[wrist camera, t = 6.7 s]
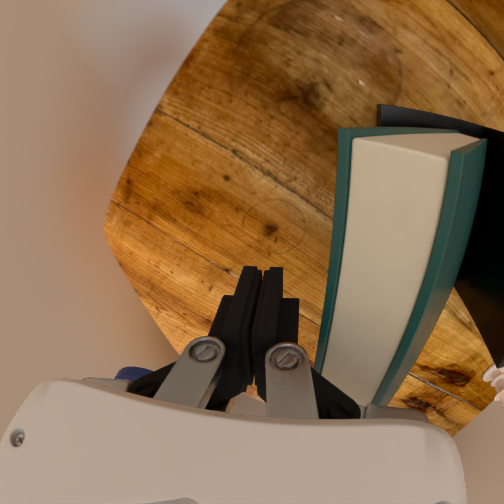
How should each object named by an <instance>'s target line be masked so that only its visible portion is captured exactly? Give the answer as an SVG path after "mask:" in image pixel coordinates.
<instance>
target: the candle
mask: <svg viewBox="0 0 504 504" xmlns="http://www.w3.org/2000/svg"><path fill="white" fill-rule="evenodd" d="M503 372H504V367H503V368H498V369H497V368H496V366H495V363H494V364H493V365H491V366H490V367H489V368H488V369H487V370H486V371H485V372H484V374H483V380H484V381H485V382H488V381H491V380H492V381H491V386H495V389H496V391H497V395H496V397H495V398H494V400H495V401H498V400H501V401H502V404H503V406H504V373H503Z"/></svg>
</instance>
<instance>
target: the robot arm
mask: <svg viewBox="0 0 504 504" xmlns="http://www.w3.org/2000/svg"><path fill="white" fill-rule="evenodd" d="M298 324H299V298H283V267H270V268H269V270H265V271H264V275H263V280H262V270H257V266H244V267H243V269H242V272H241V275H240V278H239V281H238V284H237V287H236V290H235V293H234V296H233V295H224V296H223V297H222V300H221V302H220V305H219V308H218V310H217V313H216V316H215V318H214V321H213V324H212V326H211V329H210V332H209V334H208V336H203V337H199V338H196V339H194V340H192V341H191V342H190V343H189V344H188V345H187V346H186V348H185V349H184V351H183V352H182V354H181V356H180V357H179V359H178V360H177V361H176V362H174V363H171V364H170V365H167V366H165V367H163V368H161V369H159V370H156V371H154V372H152V373H150V374H147V375H145V376H143V377H141V378H139V379H137V380H135V381H134V382H130V380H125V379H105V378H92V377H90V378H85V379H83V380H78V379H69V378H60V379H51V380H46V381H44V382H42V383H41V384H39V385H38V386H37V387H36V388H35V389H34V390H33V391H32V392H31V393H30V394H29V396H28V397H27V398H26V400H25V401H24V402H23V404H22V405H21V407H20V408H19V410H18V411H17V413H16V415H15V416H14V418H13V420H12V421H11V423H10V425H9V426H8V428H7V430H6V432H5V434H4V436H3V438H2V440H1V441H0V504H467V494H466V486H465V478H464V472H463V468H462V463H461V459H460V456H459V452H458V450H457V447H456V445H455V443H454V441H453V439H452V437H451V436H450V435H449V434H448V433H447V432H446V431H445V430H443V429H441V428H439V427H437V426H435V425H432V424H429V420H428V418H427V416H426V415H425V414H424V413H423V412H421V411H419V410H415V409H405V408H396V407H388V406H380V405H373V404H367V406H362V405H358V404H357V403H356V402H355V401H354V400H353V399H352V398H350V397H349V396H348V395H346V394H345V393H344V392H343V391H341V390H340V389H339V388H337V387H336V386H335V385H333V384H332V383H331V382H330V381H328V380H327V379H326V378H324V377H323V376H322V375H321V374H319V373H318V372H317V371H315V370H314V369H313V368H312V367H310V363H309V358H308V354H307V352H306V350H305V349H304V348H303V347H302V346H300V345H298ZM253 378H255V386H257V394H258V395H259V396H260V397H261V398H262V399H263V400H264V401H265V402H266V403H267V417H263V416H252V415H243V414H235V413H229V412H230V409H231V407H232V405H233V403H234V397H235V396H237V395H238V394H240V393H242V392H246V389H247V385H252V383H253Z"/></svg>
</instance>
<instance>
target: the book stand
mask: <svg viewBox="0 0 504 504" xmlns="http://www.w3.org/2000/svg"><path fill="white" fill-rule="evenodd" d="M377 127H416V128H436V129H450V130H458V131H459V133H460V134H464V135H467V136H471V137H474V138H478V139H483V138H486V139H487V148H486V157H485V164H484V171H483V177H482V183H481V189H480V194H479V199H478V204H477V208H476V213H475V217H474V221H473V225H472V229H471V233H470V236H469V240H468V244H467V247H466V250H465V254H464V257H463V260H462V263H461V266H460V269H459V272H458V275H457V278H456V281H455V283H454V287H455V289H456V291H457V292H458V294H459V296H460V297H461V299H462V301H463V302H464V304H465V306H466V308H467V309H468V311H469V313H470V315H471V317H472V319H473V320H474V322H475V324H476V326H477V328H478V330H479V332H480V334H481V336H482V338H483V340H484V342H485V344H486V346H487V348H488V350H489V352H490V354H491V357H492V359H493V361H494V363H495V366H496V368H497V369H498V368H503V367H504V132H501V131H498V130H495V129H491V128H488V127H484V126H481V125H477V124H474V123H471V122H467V121H463V120H460V119H456V118H452V117H448V116H443V115H439V114H435V113H430V112H425V111H420V110H415V109H409V108H404V107H398V106H391V105H384V104H378V109H377Z"/></svg>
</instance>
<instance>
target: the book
mask: <svg viewBox="0 0 504 504" xmlns="http://www.w3.org/2000/svg"><path fill="white" fill-rule="evenodd" d="M486 148H487V139H486V138H483V139H478V138H474V137H471V136H467V135H464V134H460V133H459V131H458V130H450V129H436V128H416V127H349V128H338V152H337V175H336V193H335V207H334V220H333V231H332V242H331V252H330V261H329V270H328V278H327V286H326V293H325V301H324V308H323V315H322V321H321V328H320V334H319V340H318V346H317V351H316V357H315V363H314V368H313V369H314V370H315V371H317V372H318V373H319V374H321V375H322V376H323V377H324V378H326V379H327V380H328V381H330V382H331V383H332V384H333V385H335V386H336V387H337V388H339V389H340V390H341V391H343V392H344V393H345V394H346V395H348V396H349V397H350V398H352V399H353V400H354V401H355V402H356V403H357V404H358V405H362V406H367V404H373V405H380V406H387V405H388V403H389V402H390V400H391V399H392V398H393V396H394V395H395V393H396V392H397V390H398V389H399V387H400V386H401V384H402V383H403V381H404V379H405V378H406V376H407V375H408V373H409V372H410V370H411V368H412V367H413V365H414V363H415V362H416V360H417V358H418V356H419V355H420V353H421V351H422V349H423V348H424V346H425V344H426V342H427V340H428V338H429V337H430V335H431V333H432V331H433V329H434V327H435V325H436V323H437V321H438V319H439V317H440V315H441V313H442V311H443V309H444V306H445V304H446V302H447V300H448V298H449V295H450V293H451V291H452V288H453V286H454V283H455V281H456V278H457V275H458V272H459V269H460V266H461V263H462V260H463V257H464V254H465V250H466V247H467V244H468V240H469V236H470V233H471V229H472V225H473V221H474V217H475V213H476V208H477V204H478V199H479V194H480V189H481V183H482V177H483V171H484V164H485V157H486Z"/></svg>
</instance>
